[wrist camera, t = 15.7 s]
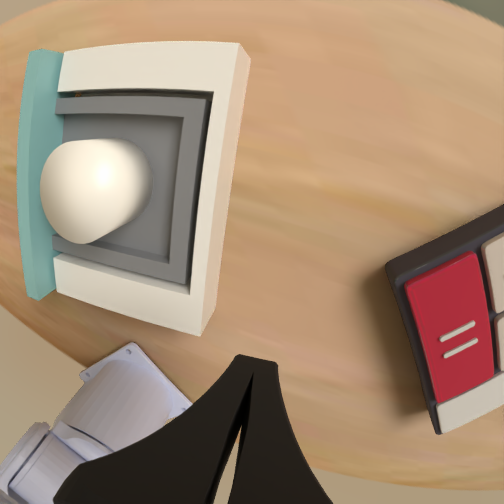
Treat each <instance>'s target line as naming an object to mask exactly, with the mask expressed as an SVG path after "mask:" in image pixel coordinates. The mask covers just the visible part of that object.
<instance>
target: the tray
mask: <svg viewBox="0 0 504 504" xmlns="http://www.w3.org/2000/svg"><path fill="white" fill-rule="evenodd" d="M63 56H64V53H59V52H55V51H50V50H45V49H39V50H35V51H31V52H29V57H28V62H27V67H26V73H25V79H24V86H23V93H22V100H21V109H20V119H19V131H18V148H17V207H18V224H19V237H20V247H21V256H22V264H23V271H24V278H25V285H26V291H27V296H28V297H31V298H33V299H35V300H38V301H39V300H40V299H42V298H43V297H45V296H46V295H48V294H49V293H50V292H52V291H53V290H55V289H56V280H55V271H54V260H53V258H54V257H56V256H58V255H59V254H61V253H63V252H64V253H67V254H71V255H74V256H78V257H81V258H85V259H89V260H92V261H96V262H100V263H103V264H107V265H111V266H114V267H118V268H122V269H126V270H130V271H134V272H137V273H141V274H145V275H149V276H153V277H157V278H161V279H165V280H169V281H173V282H178V283H182V284H185V283H186V282H187V281H188V280H189V278H190V277H191V276H192V264H193V253H194V243H195V233H196V223H197V214H198V205H199V196H200V188H201V179H202V172H203V164H204V156H205V149H206V142H207V135H208V128H209V121H210V114H211V108H212V101H209V100H206V99H195V98H180V97H159V96H93V97H75V94H76V93H66V92H57V91H58V84H59V78H60V72H61V66H62V61H63ZM105 138H123V139H126V140H129V141H131V142H133V143H134V144H136V145H137V146H138V147H139V148H140V149H141V150H142V151H143V152H144V154H145V155H146V157H147V159H148V161H149V163H150V166H151V169H152V174H153V190H152V195H151V199H150V201H149V204H148V205H147V207H146V209H145V210H144V211H143V213H142V214H141V215H140V216H138V217H137V218H136V219H134V220H132V221H130V222H128V223H126V224H124V225H123V226H121V227H119V228H117V229H115V230H113V231H111V232H109V233H108V234H106V235H104V236H102V237H100V238H98V239H97V240H95V241H93V242H90V243H86V244H77V243H73V242H70V241H68V240H66V239H64V238H63V237H62V236H60V235H59V234H58V233H57V232H56V231H55V230H54V229H53V227H52V226H51V224H50V223H49V221H48V219H47V217H46V215H45V213H44V210H43V207H42V203H41V197H40V179H41V174H42V170H43V167H44V164H45V162H46V160H47V159H48V157H49V155H50V154H51V153H52V152H53V151H54V150H55V149H56V148H57V147H58V146H60V145H62V144H64V143H66V142H70V141H79V140H91V139H105Z"/></svg>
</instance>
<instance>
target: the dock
mask: <svg viewBox="0 0 504 504" xmlns="http://www.w3.org/2000/svg"><path fill="white" fill-rule="evenodd" d="M250 64H251V59H250V57H249V56H248V55H247V53H246V52H245V50H244V49H243V48H242V46H241V45H240V44H239V43H230V42H208V41H163V42H142V43H128V44H117V45H107V46H99V47H91V48H84V49H78V50H72V51H66V52H64V56H63V61H62V66H61V72H60V78H59V84H58V91H57V92H66V93H77V94H81V97H93V96H159V97H180V98H195V99H206V100H209V101H212V108H211V114H210V121H209V128H208V135H207V142H206V149H205V156H204V164H203V172H202V179H201V188H200V196H199V205H198V214H197V223H196V233H195V243H194V253H193V264H192V276H191V277H190V278H189V280H188V281H187V282H186V283H185V284H182V283H178V282H173V281H169V280H165V279H161V278H157V277H153V276H149V275H145V274H141V273H137V272H134V271H130V270H126V269H122V268H118V267H114V266H111V265H107V264H103V263H100V262H96V261H92V260H89V259H85V258H81V257H78V256H74V255H71V254H67V253H64V252H63V253H61V254H59V255H58V256H56V257H54V258H53V260H54V271H55V280H56V288H57V292H59V293H61V294H64V295H67V296H70V297H72V298H75V299H78V300H81V301H84V302H87V303H90V304H92V305H95V306H98V307H101V308H104V309H107V310H111V311H114V312H117V313H120V314H123V315H126V316H129V317H133V318H136V319H139V320H143V321H146V322H149V323H153V324H156V325H160V326H163V327H167V328H170V329H174V330H177V331H181V332H185V333H189V334H192V335H196V336H201V334H202V332H203V330H204V328H205V327H206V325H207V323H208V321H209V319H210V317H211V316H212V314H213V312H214V310H215V307H216V299H217V291H218V283H219V274H220V267H221V259H222V251H223V243H224V236H225V228H226V221H227V213H228V206H229V199H230V192H231V185H232V178H233V171H234V165H235V158H236V151H237V145H238V138H239V132H240V125H241V119H242V113H243V106H244V100H245V94H246V88H247V82H248V76H249V70H250Z"/></svg>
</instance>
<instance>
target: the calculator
mask: <svg viewBox="0 0 504 504" xmlns="http://www.w3.org/2000/svg"><path fill="white" fill-rule="evenodd" d="M385 270H386V273H387V276H388V279H389V281H390V284H391V287H392V290H393V293H394V295H395V298H396V301H397V304H398V307H399V310H400V313H401V316H402V319H403V322H404V325H405V328H406V331H407V335H408V338H409V341H410V344H411V348H412V351H413V354H414V358H415V361H416V365H417V368H418V372H419V376H420V380H421V385H422V388H423V392H424V396H425V401H426V405H427V408H428V411H429V415H430V418H431V421H432V424H433V427H434V430H435V433H436V434H437V435H440V434H443V433H446V432H449V431H451V430H453V429H455V428H458V427H460V426H462V425H464V424H466V423H468V422H470V421H472V420H474V419H476V418H478V417H480V416H482V415H484V414H486V413H488V412H490V411H492V410H494V409H496V408H497V407H499V406H501V405H503V404H504V204H503V205H501V206H500V207H498V208H496V209H494V210H492V211H490V212H488V213H486V214H484V215H482V216H481V217H479V218H477V219H475V220H473V221H471V222H469V223H467V224H465V225H463V226H461V227H459V228H457V229H455V230H453V231H451V232H449V233H447V234H445V235H443V236H441V237H439V238H437V239H435V240H433V241H431V242H428V243H426V244H424V245H422V246H420V247H418V248H416V249H414V250H412V251H409V252H407V253H405V254H403V255H401V256H399V257H396V258H394V259H392V260H390V261H388V262H387V264H386V266H385Z"/></svg>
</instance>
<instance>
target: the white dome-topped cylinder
mask: <svg viewBox="0 0 504 504" xmlns="http://www.w3.org/2000/svg"><path fill="white" fill-rule="evenodd" d="M152 190H153V174H152V169H151V166H150V163H149V161H148V159H147V157H146V155H145V154H144V152H143V151H142V150H141V149H140V148H139V147H138V146H137V145H136V144H134V143H133V142H131V141H129V140H126V139H123V138H105V139H91V140H79V141H70V142H66V143H64V144H62V145H60V146H58V147H57V148H56V149H55V150H54V151H53V152H52V153H51V154H50V155H49V157H48V159H47V160H46V162H45V164H44V167H43V170H42V174H41V179H40V197H41V203H42V207H43V210H44V213H45V215H46V217H47V219H48V221H49V223H50V224H51V226H52V227H53V229H54V230H55V231H56V232H57V233H58V234H59V235H60V236H62V237H63V238H64V239H66V240H68V241H70V242H73V243H77V244H86V243H90V242H93V241H95V240H97V239H98V238H100V237H102V236H104V235H106V234H108V233H109V232H111V231H113V230H115V229H117V228H119V227H121V226H123V225H124V224H126V223H128V222H130V221H132V220H134V219H136V218H137V217H138V216H140V215H141V214H142V213H143V211H144V210H145V209H146V207H147V205H148V204H149V201H150V199H151V195H152Z"/></svg>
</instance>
